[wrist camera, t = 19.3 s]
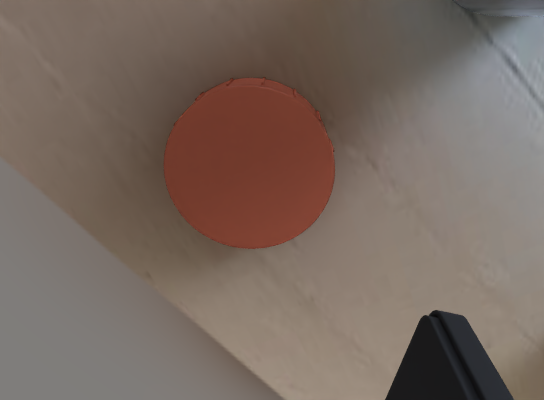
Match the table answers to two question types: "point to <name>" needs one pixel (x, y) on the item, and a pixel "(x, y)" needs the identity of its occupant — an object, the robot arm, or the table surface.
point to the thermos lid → (250, 163)
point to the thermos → (504, 7)
